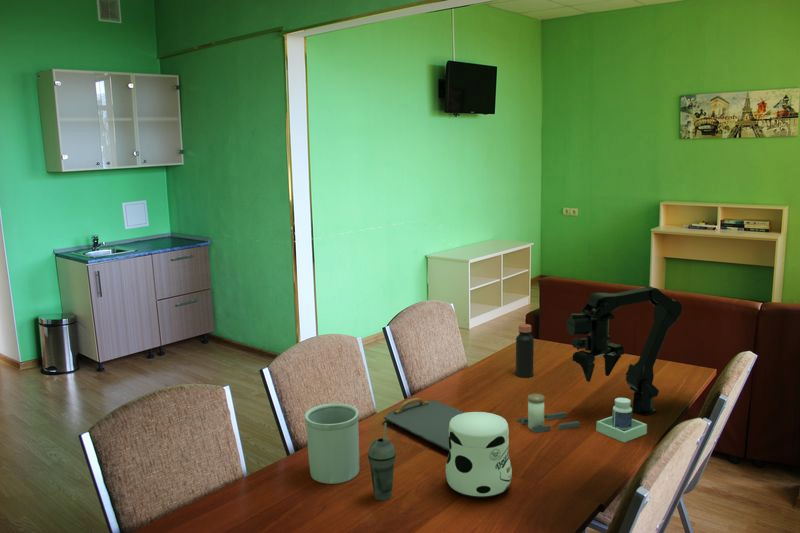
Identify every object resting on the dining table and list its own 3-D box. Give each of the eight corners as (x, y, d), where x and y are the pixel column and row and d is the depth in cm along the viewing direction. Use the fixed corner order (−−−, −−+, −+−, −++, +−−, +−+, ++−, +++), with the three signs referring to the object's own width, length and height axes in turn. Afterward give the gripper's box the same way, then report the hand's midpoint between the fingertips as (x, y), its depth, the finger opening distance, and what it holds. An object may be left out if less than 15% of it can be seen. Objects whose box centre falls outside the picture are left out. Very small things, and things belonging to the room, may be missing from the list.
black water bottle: (534, 377, 262) (535, 327, 258) (517, 378, 262) (517, 328, 259) (531, 372, 269) (532, 323, 265) (514, 372, 269) (514, 323, 265)
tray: (618, 422, 218) (618, 413, 218) (646, 433, 210) (647, 424, 209) (596, 430, 212) (596, 421, 212) (624, 442, 204) (624, 432, 203)
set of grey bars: (561, 413, 227) (562, 409, 226) (580, 426, 216) (580, 422, 216) (515, 420, 222) (515, 416, 222) (532, 434, 211) (532, 429, 211)
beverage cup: (368, 489, 179) (366, 418, 176) (395, 488, 180) (394, 416, 176) (369, 504, 172) (367, 429, 168) (398, 502, 173) (396, 428, 169)
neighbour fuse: (535, 422, 220) (536, 392, 218) (547, 427, 216) (548, 397, 214) (524, 426, 217) (524, 396, 215) (535, 431, 213) (536, 400, 211)
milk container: (523, 497, 174) (523, 431, 170) (460, 508, 169) (459, 441, 166) (495, 467, 190) (495, 406, 187) (436, 477, 185) (435, 414, 182)
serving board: (511, 440, 208) (511, 421, 207) (456, 463, 194) (456, 443, 193) (429, 405, 238) (429, 388, 237) (376, 422, 224) (376, 404, 223)
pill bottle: (635, 432, 210) (636, 401, 208) (620, 435, 207) (622, 404, 206) (622, 425, 215) (623, 395, 213) (608, 428, 212) (609, 398, 211)
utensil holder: (339, 490, 179) (337, 428, 176) (296, 477, 187) (293, 417, 184) (371, 467, 191) (369, 409, 188) (329, 456, 199) (327, 399, 196)
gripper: (598, 322, 231) (597, 366, 233) (560, 332, 220) (559, 377, 223) (625, 329, 221) (624, 375, 224) (587, 339, 211) (585, 387, 214)
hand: (597, 378), depth 222 cm, fingers open, 9 cm apart
